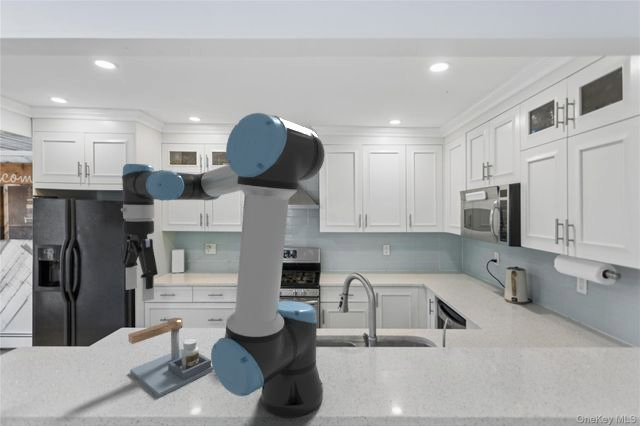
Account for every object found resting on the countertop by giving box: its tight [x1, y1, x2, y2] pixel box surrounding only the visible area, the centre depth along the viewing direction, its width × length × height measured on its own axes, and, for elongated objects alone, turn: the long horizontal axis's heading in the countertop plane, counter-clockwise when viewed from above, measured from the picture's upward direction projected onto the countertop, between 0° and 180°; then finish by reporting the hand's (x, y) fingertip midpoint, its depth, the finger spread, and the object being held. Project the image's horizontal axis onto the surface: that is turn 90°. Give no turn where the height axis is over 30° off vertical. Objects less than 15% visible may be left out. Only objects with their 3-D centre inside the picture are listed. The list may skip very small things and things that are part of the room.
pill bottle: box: [182, 338, 200, 370], centre depth 85 cm, size 4×4×8 cm
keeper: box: [128, 317, 183, 345], centre depth 86 cm, size 14×4×2 cm, turn 143°
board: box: [130, 329, 214, 398], centre depth 85 cm, size 17×15×10 cm
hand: (139, 294), depth 86 cm, fingers open, 13 cm apart
